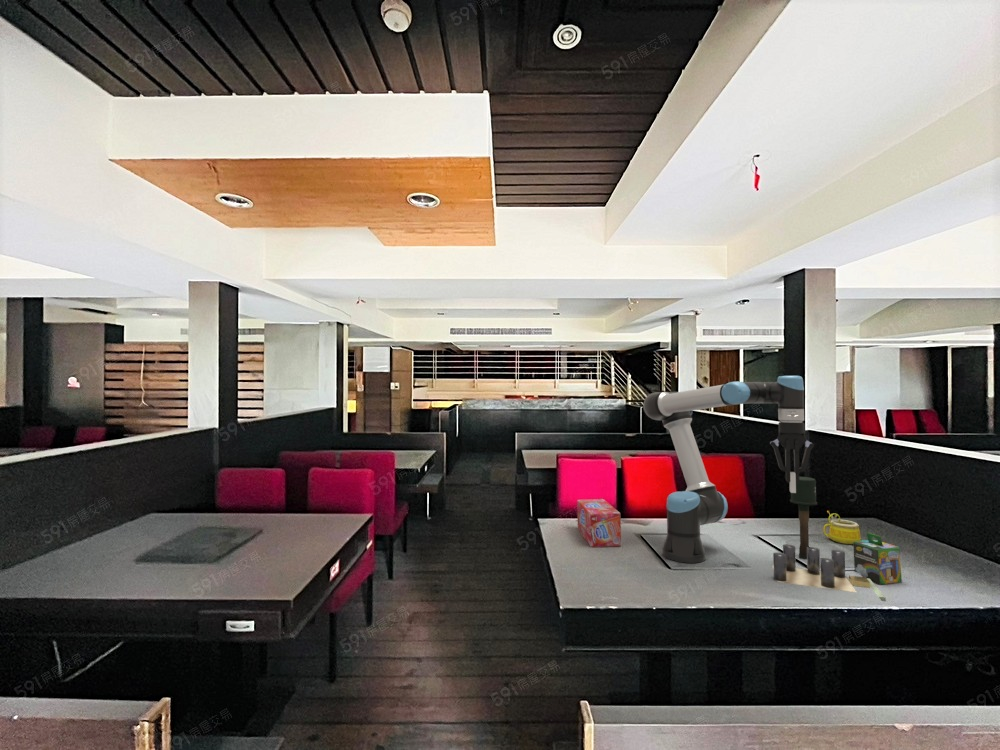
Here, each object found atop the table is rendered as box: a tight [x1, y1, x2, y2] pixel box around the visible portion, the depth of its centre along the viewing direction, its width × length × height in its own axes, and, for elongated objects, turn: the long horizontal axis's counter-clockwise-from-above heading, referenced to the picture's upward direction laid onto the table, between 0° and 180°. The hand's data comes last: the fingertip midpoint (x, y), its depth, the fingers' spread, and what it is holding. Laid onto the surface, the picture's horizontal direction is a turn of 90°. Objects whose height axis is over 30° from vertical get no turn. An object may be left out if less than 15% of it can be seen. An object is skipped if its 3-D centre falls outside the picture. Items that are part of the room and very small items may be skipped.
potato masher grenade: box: [789, 476, 818, 560], centre depth 180 cm, size 8×9×30 cm
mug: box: [822, 510, 862, 545], centre depth 203 cm, size 13×11×12 cm
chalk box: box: [852, 532, 903, 586], centre depth 162 cm, size 9×9×15 cm
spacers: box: [772, 544, 846, 589], centre depth 159 cm, size 22×15×8 cm
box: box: [576, 498, 622, 548], centre depth 209 cm, size 27×13×14 cm, turn 2°
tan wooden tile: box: [848, 575, 871, 589], centre depth 154 cm, size 4×4×2 cm
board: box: [771, 564, 887, 602], centre depth 158 cm, size 28×16×1 cm, turn 66°
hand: (792, 492), depth 164 cm, fingers closed
